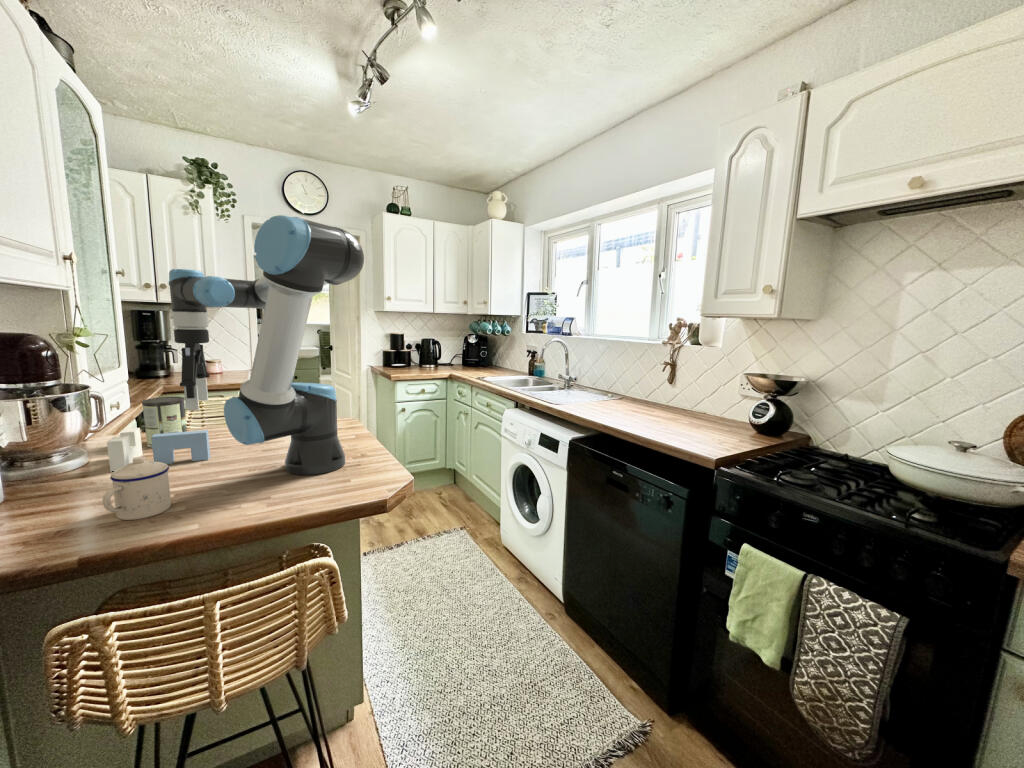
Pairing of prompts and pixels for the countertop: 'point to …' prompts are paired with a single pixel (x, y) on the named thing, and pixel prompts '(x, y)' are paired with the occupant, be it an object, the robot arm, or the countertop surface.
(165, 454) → the light blue flat block
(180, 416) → the coffee can
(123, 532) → the countertop surface
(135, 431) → the white notched slab
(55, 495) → the countertop surface
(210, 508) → the countertop surface
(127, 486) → the teacup with lid
